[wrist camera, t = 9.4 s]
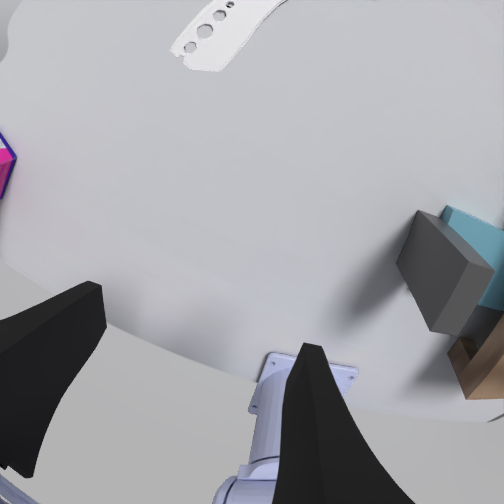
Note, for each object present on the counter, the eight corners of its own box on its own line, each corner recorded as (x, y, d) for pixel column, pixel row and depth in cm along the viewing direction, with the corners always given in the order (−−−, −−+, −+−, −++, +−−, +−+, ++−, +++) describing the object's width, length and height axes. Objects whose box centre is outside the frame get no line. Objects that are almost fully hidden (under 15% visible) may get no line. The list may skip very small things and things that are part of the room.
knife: (111, 152, 18) (76, 60, 14) (124, 147, 19) (90, 60, 16) (528, 40, 8) (481, -55, 5) (516, 41, 10) (472, -48, 7)
